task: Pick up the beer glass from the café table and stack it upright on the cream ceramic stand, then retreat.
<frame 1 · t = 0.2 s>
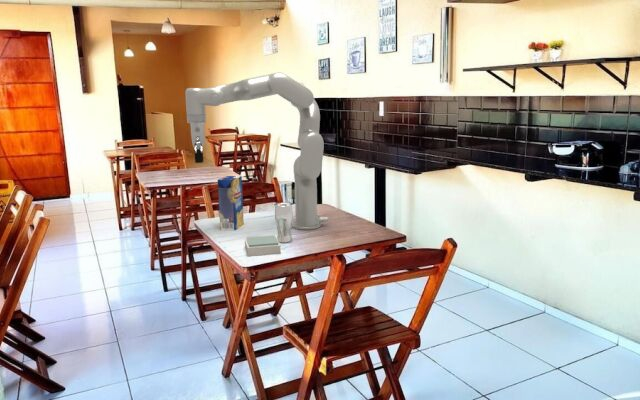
hand: (199, 161, 216), 31 cm above the table, tool pointing down, fingers open, 9 cm apart
beer glass: (284, 241, 210), on the table
beverage box: (232, 227, 233), on the table
base: (262, 250, 199), on the table
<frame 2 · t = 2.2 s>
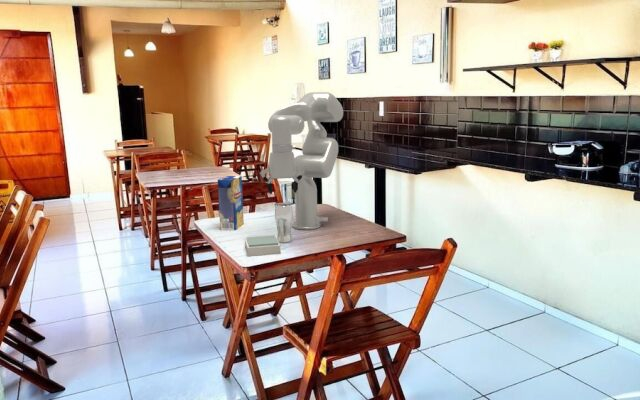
hand: (282, 192, 206), 20 cm above the table, tool pointing down, fingers open, 9 cm apart
nothing on the table moved.
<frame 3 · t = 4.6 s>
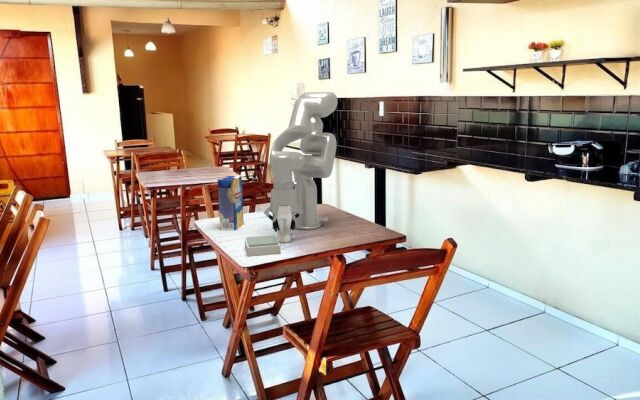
hand: (284, 229, 209), 5 cm above the table, tool pointing down, fingers closed on beer glass, 6 cm apart
beer glass: (284, 241, 210), on the table, touching gripper
everything else where it was.
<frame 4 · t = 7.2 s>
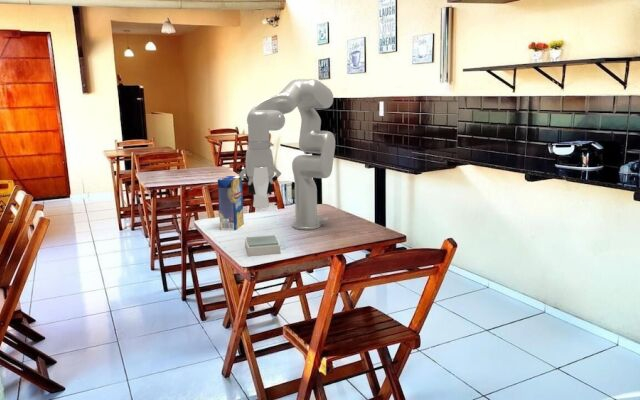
hand: (260, 194, 194), 22 cm above the table, tool pointing down, fingers closed on beer glass, 6 cm apart
beer glass: (261, 206, 195), point 17 cm above the table, touching gripper
everything else where it was.
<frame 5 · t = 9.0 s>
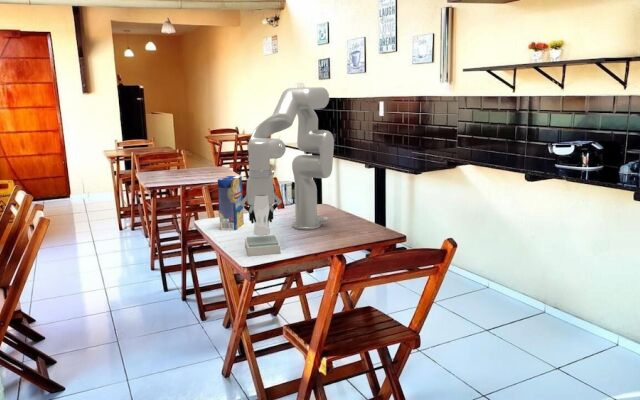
hand: (261, 221, 196), 11 cm above the table, tool pointing down, fingers closed on beer glass, 6 cm apart
beer glass: (261, 234, 197), point 6 cm above the table, touching gripper
everything else where it was.
when the fingers open (10 cm above the table, at t = 10.2 s): beer glass drops 1 cm, resting on base.
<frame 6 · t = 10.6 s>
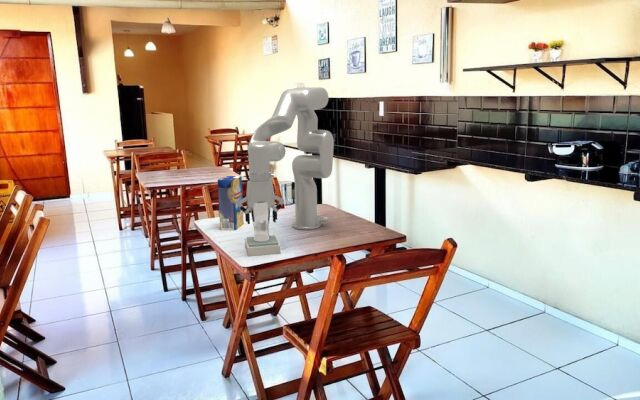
hand: (261, 222, 196), 11 cm above the table, tool pointing down, fingers open, 9 cm apart
beer glass: (261, 240, 198), point 4 cm above the table, touching base
everything else where it was.
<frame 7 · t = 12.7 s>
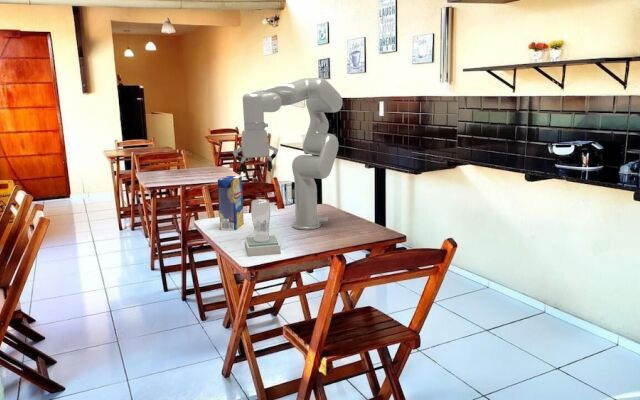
hand: (256, 171, 202), 29 cm above the table, tool pointing down, fingers open, 9 cm apart
nothing on the table moved.
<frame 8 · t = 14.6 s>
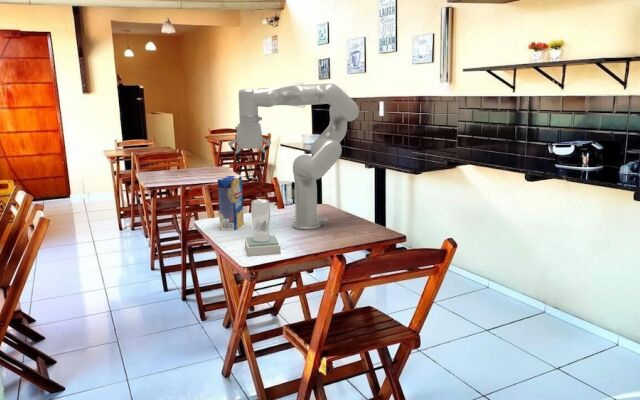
hand: (250, 162, 215), 30 cm above the table, tool pointing down, fingers open, 9 cm apart
nothing on the table moved.
at the end: beer glass inside the target area on the base (0.1 cm from its centre), point 3.8 cm above the base's base; beer glass tilted 0°; the gripper is holding nothing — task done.
